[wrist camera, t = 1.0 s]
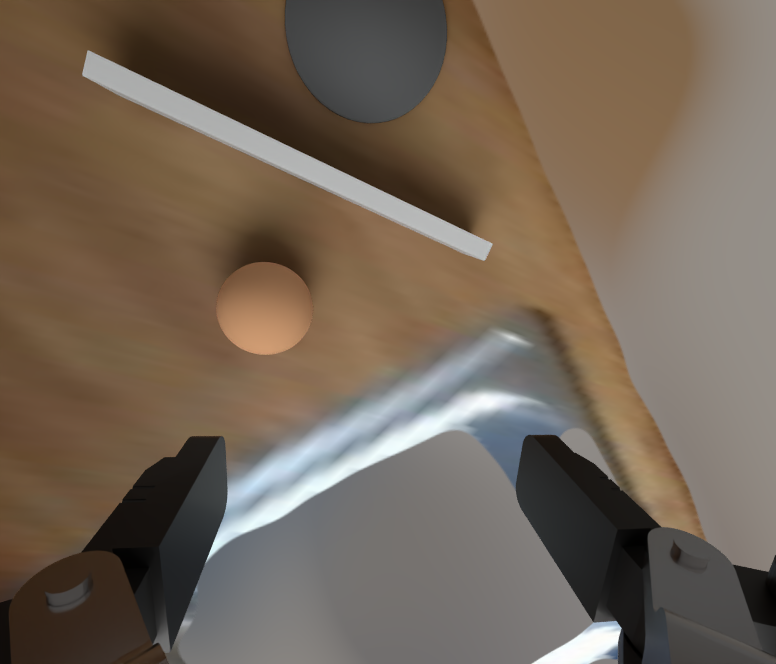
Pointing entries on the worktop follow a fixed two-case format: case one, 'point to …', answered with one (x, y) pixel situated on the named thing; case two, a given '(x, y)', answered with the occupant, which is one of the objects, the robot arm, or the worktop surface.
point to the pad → (367, 53)
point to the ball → (264, 308)
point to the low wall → (277, 154)
